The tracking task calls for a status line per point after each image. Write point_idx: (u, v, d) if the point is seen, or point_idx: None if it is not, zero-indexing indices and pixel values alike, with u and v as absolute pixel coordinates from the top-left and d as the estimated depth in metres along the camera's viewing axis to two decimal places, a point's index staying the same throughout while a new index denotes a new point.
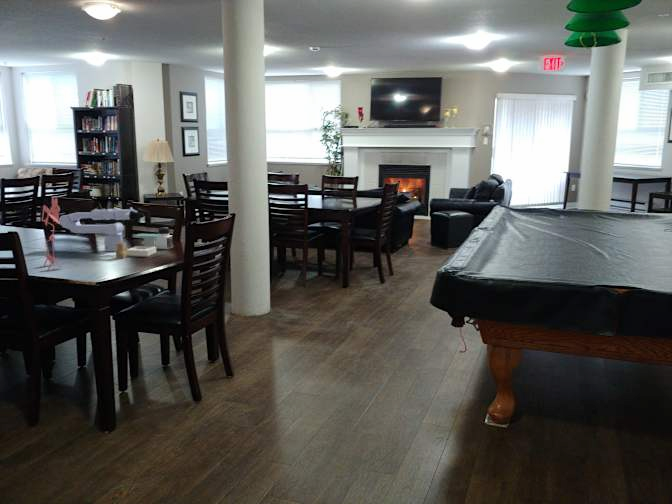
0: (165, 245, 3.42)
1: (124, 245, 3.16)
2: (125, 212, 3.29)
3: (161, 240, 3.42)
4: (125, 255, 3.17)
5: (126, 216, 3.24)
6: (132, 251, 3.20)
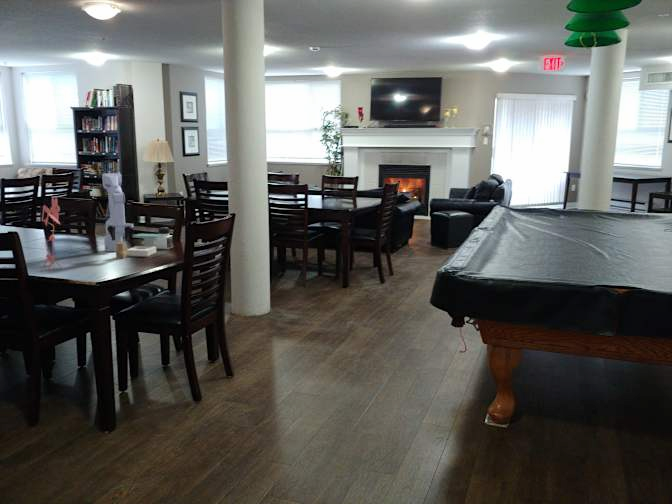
0: (165, 245, 3.42)
1: (124, 245, 3.16)
2: (113, 219, 3.12)
3: (161, 240, 3.42)
4: (125, 255, 3.17)
5: None
6: (132, 251, 3.20)
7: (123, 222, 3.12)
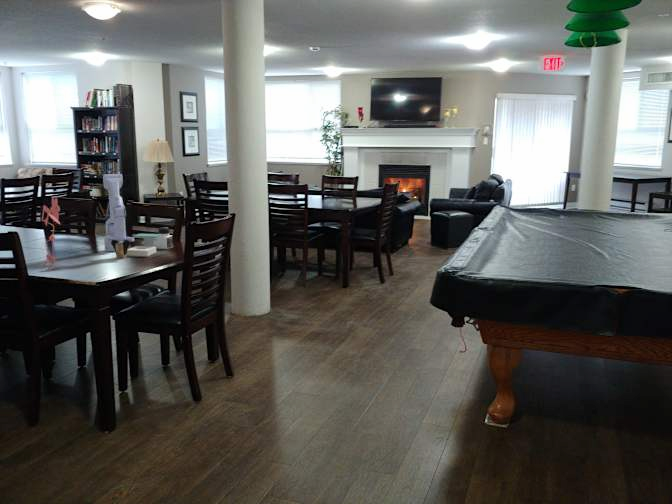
0: (165, 245, 3.42)
1: None
2: (114, 233, 3.13)
3: (161, 240, 3.42)
4: (125, 255, 3.17)
5: None
6: (132, 251, 3.20)
7: (124, 236, 3.14)
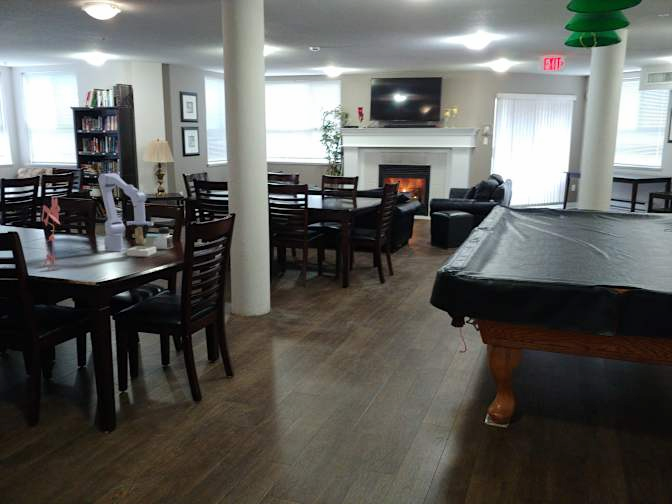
0: (165, 245, 3.42)
1: None
2: (134, 218, 3.21)
3: (161, 240, 3.42)
4: (144, 240, 3.25)
5: None
6: (132, 251, 3.20)
7: (143, 220, 3.21)
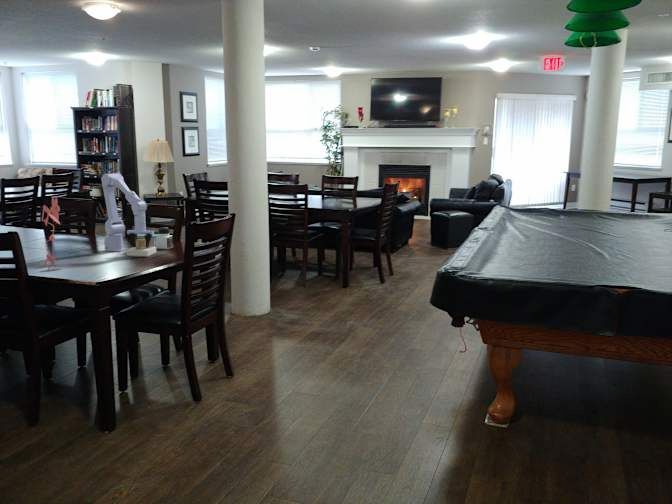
0: (165, 245, 3.42)
1: (144, 241, 3.24)
2: (135, 227, 3.22)
3: (161, 240, 3.42)
4: None
5: None
6: (132, 251, 3.20)
7: (144, 229, 3.22)
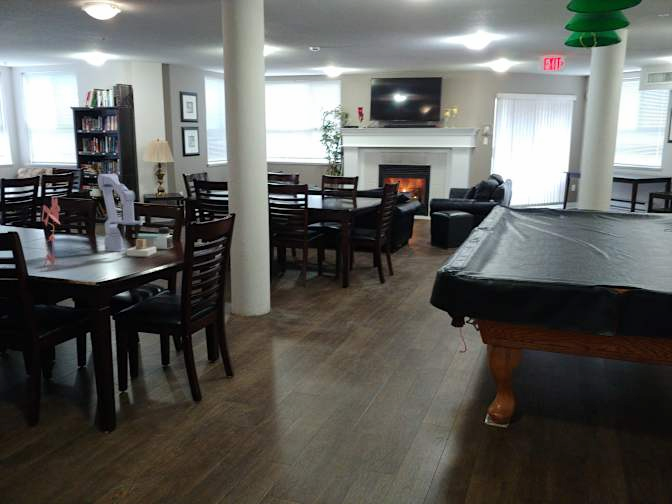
0: (165, 245, 3.42)
1: (144, 241, 3.24)
2: (123, 217, 3.18)
3: (161, 240, 3.42)
4: None
5: None
6: (132, 251, 3.20)
7: (132, 220, 3.19)
